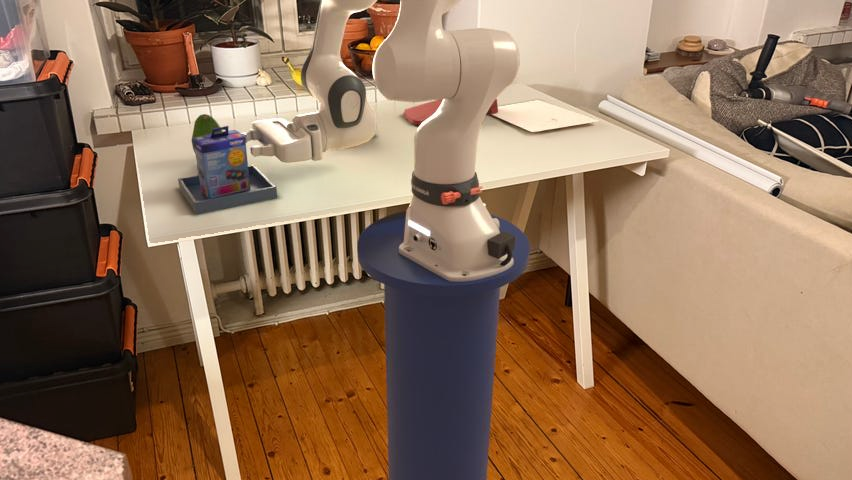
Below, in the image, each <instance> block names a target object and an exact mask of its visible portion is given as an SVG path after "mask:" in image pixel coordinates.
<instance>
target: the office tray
mask: <svg viewBox="0 0 852 480" xmlns="http://www.w3.org/2000/svg"><path fill="white" fill-rule="evenodd" d="M248 171H249V181H250V190H246V191H242V192H238V193H233V194H229V195H225V196H221V197H216V198H212V199H208V198H207V197H206V196H205V195H204V194H203V193H202V192H201V188H200V181H199V174H195V175H191V176H184V177H180V178H179V177H178V178H177V182H178V188H179V191H180V192H181V194H182V195H183V197H184V198H185V200H186V201H187V203H188V204H189V206H190V207H191V208H192V210H193V211H194V213H195V214H196V215H200V214H205V213H210V212H216V211H220V210H225V209H230V208H235V207H239V206H245V205H248V204H254V203H259V202H263V201H268V200H273V199H278V190H277V186H276V185H275V184H274V183H273V182H272V181H271V180H270V179H269V178H268V177H267V176H266V175H265V174H264V173H263V172H262V171H261V170H260V169H259V168H258V167H257V166H256V165H255V164H250V165H248Z"/></svg>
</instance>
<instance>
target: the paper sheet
mask: <svg viewBox="0 0 852 480" xmlns="http://www.w3.org/2000/svg"><path fill="white" fill-rule="evenodd" d="M486 114H489V115H491V116H494V117H496V118H498V119H501V120H503V121H506V122H507V123H510V124H512V125H514V126H517V127H519V128H521V129H524V130H526V131H528V132H531V133H536V132H542V131H548V130H549V131H550V130H555V129H561V128H567V127H571V126H573V127H574V126H578V125H584V124H590V123H597V122H599V119H595V118H592V117H590V116H586V115H583V114H581V113H578V112H575V111H572V110H569V109H566V108H563V107H560V106H558V105H554V104H552V103H549V102H545V101H543V100H540V99H535V100H530V101H523V102H517V103H512V104H506V105H500V106H499V105H498V113H495V114H490V113H488V112H487V113H486Z"/></svg>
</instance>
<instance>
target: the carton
mask: <svg viewBox="0 0 852 480" xmlns="http://www.w3.org/2000/svg"><path fill="white" fill-rule="evenodd" d="M442 101H443V99H440V100H431V101H428V102H426V103H422V104H418V105H415V106H412V107H408V108H405V109H404V110H403V118H404V119H406V120H407V121H408V122H410V123H411V124H412V125H413V126H418V127H419V126H420V125H421V124H422V123H423V122H424V121H425V120H426V119H428V118H429V117H431V116H432V115H433V114H434V113H435V112H436V111H437V110H438V108H439V107H440V105H441V103H442ZM498 107H499V105H498V99H497V98H496V99H495V101H494V102H493V103H492V105H491V107H490V108H489V110H488V113H487V114H489V113H490V114H489V115H492V114H495V113H498Z"/></svg>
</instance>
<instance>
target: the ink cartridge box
mask: <svg viewBox="0 0 852 480" xmlns="http://www.w3.org/2000/svg"><path fill="white" fill-rule="evenodd" d="M219 130H222V131H223V132H219V133H215V132H216V131H219ZM193 142H194V148H195V152H194V154H195V160H196V167H197V173H198V174H197V175H199V181H200V188H201V192H202V193H203V194H204V195H205V196H206V197H207V198H208V199H212V198H216V197H221V196H225V195H229V194H233V193H238V192H242V191H246V190H250V181H249V171H248V166H249V163H248V152H247V151H248V150H247V143H246V139H245V136H244V135H242V134H241V132H239V130H236V129H232V130H231V129H230V130H229V125H225V126H220V128H215V129H212V132H211V134H209V135H205V136H200V137H196V138H193Z"/></svg>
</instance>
